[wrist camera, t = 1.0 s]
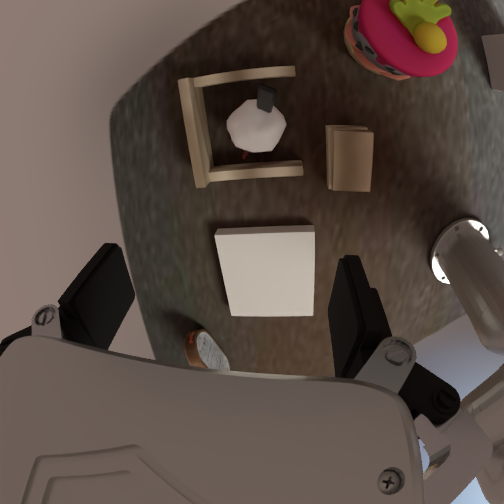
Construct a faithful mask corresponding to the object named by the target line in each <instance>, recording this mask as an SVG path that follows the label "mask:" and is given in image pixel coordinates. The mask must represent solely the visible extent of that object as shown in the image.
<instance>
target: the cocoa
mask: <svg viewBox="0 0 504 504" xmlns="http://www.w3.org/2000/svg"><path fill="white" fill-rule="evenodd" d="M276 94H277V92H276V89H274V88H271V87H269V86H266V85H264V84H259V85H258V89H257V99H253V100H246V101H245V102H244V103H243V104H241V105H239V106H237V108H236V109H235V111H234V112H232V114H231V115H230V117H229V118H228V119H227V130H228V132H229V133H230V135H231V139H232V141H233V143H234V144H235V146H236V147H238V148H241V149H244V152H243V155H242V158H243V159H246V157H247V155H248V153H249V151H250V152H265V151H272V150H273V149H274V147H275V146H276V145H277V143H278V142H279V140H280V138H281V137H282V134H283V131H284V129H285V127H286V125H287V124H286V121H285V118H284V116H283V115H282V114H281V112H280V111H279V110H278V109H277V108H276V107H275V106H274V101H275V98H276Z"/></svg>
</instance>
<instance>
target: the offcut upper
mask: <svg viewBox="0 0 504 504" xmlns="http://www.w3.org/2000/svg"><path fill="white" fill-rule="evenodd" d="M373 140H374V133H373V132H371V131H369V130H365V129H350V128H331V177H330V184H331V187H332V189H333V191H362V192H370V185H371V173H372V159H373Z"/></svg>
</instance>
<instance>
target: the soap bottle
mask: <svg viewBox="0 0 504 504" xmlns="http://www.w3.org/2000/svg"><path fill="white" fill-rule="evenodd" d="M481 39H482V43H483V47H484V51H485V55H486V60H487V65H488V70H489V76H490V82H491V88H492V90H495V91H501V92H504V34H496V35H485V36H481Z"/></svg>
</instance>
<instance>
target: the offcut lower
mask: <svg viewBox="0 0 504 504" xmlns="http://www.w3.org/2000/svg"><path fill="white" fill-rule="evenodd" d="M325 128H326V155H327V186H328V188H329V189H332V187H331V184H330V177H331V128H350V129H365V130H368V128H367V127H365V126H355V125H325Z"/></svg>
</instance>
